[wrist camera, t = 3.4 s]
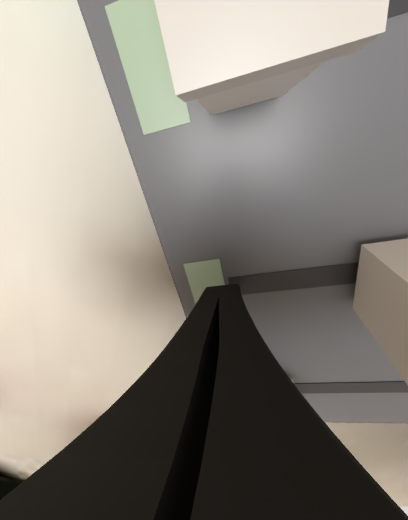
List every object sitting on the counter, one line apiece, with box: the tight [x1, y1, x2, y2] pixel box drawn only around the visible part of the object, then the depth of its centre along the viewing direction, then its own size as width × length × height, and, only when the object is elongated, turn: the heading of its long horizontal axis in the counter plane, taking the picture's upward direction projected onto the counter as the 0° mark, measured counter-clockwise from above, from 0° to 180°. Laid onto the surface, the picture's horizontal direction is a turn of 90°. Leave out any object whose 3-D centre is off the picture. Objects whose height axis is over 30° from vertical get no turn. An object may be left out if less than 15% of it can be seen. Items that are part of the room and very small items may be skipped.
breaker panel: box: [77, 0, 408, 423], centre depth 9 cm, size 18×24×2 cm
